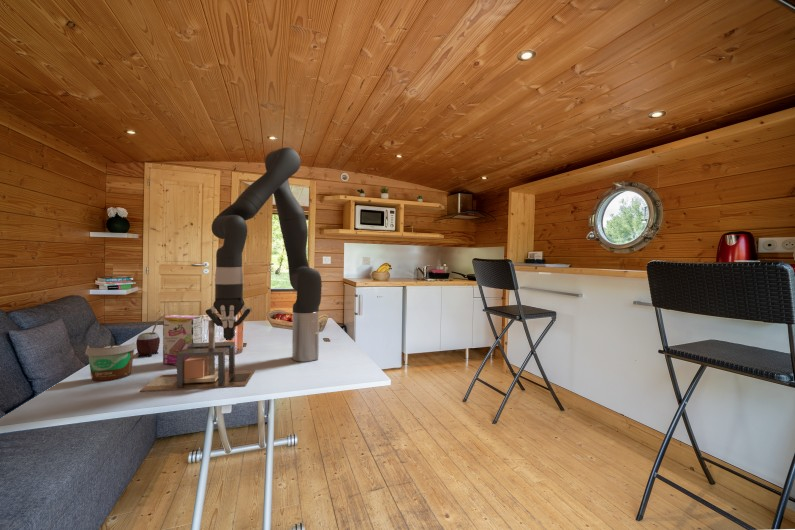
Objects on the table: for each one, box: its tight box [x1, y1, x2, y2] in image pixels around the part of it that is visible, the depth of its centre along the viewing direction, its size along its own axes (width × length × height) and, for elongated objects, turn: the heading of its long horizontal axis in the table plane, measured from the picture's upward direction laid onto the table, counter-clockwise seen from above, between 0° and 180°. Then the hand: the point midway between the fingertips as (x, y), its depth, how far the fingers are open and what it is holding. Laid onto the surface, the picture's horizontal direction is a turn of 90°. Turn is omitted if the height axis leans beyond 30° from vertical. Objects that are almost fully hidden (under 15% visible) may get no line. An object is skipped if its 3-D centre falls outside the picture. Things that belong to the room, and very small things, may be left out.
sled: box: [184, 319, 218, 383], centre depth 103 cm, size 10×7×17 cm
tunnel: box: [139, 341, 256, 393], centre depth 103 cm, size 27×13×10 cm, turn 101°
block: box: [184, 356, 209, 379], centre depth 103 cm, size 5×5×5 cm
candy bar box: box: [162, 314, 203, 366], centre depth 119 cm, size 11×5×16 cm, turn 84°
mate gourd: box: [135, 314, 166, 358], centre depth 129 cm, size 8×8×15 cm
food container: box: [84, 341, 137, 383], centre depth 104 cm, size 12×6×10 cm, turn 117°
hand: (229, 339), depth 104 cm, fingers closed
